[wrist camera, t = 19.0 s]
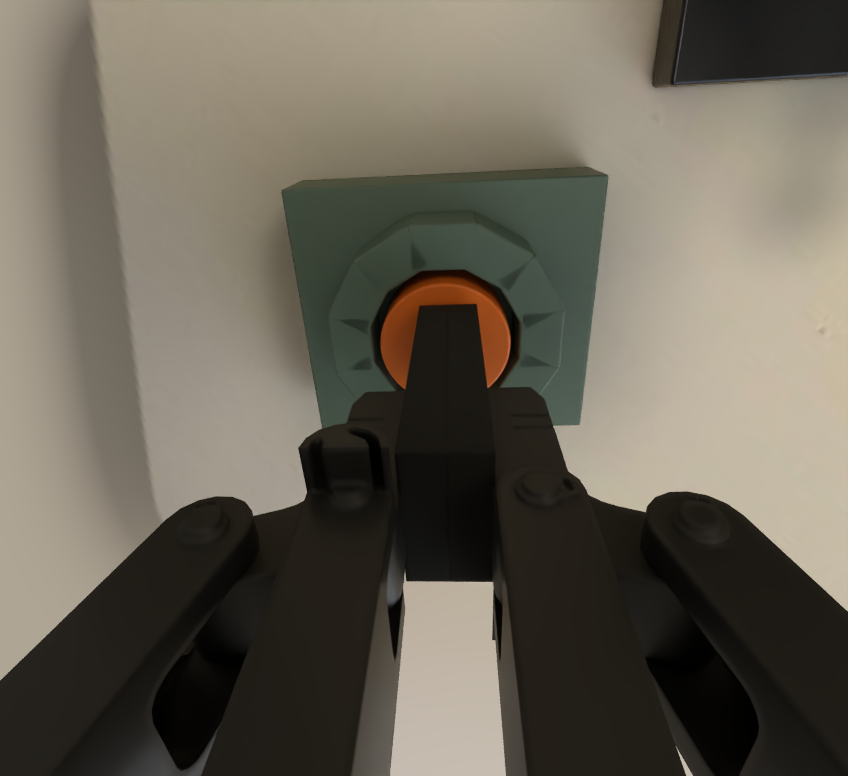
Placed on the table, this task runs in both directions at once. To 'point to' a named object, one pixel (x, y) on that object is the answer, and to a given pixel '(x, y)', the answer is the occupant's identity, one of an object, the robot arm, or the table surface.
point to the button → (444, 291)
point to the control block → (449, 250)
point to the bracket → (750, 41)
